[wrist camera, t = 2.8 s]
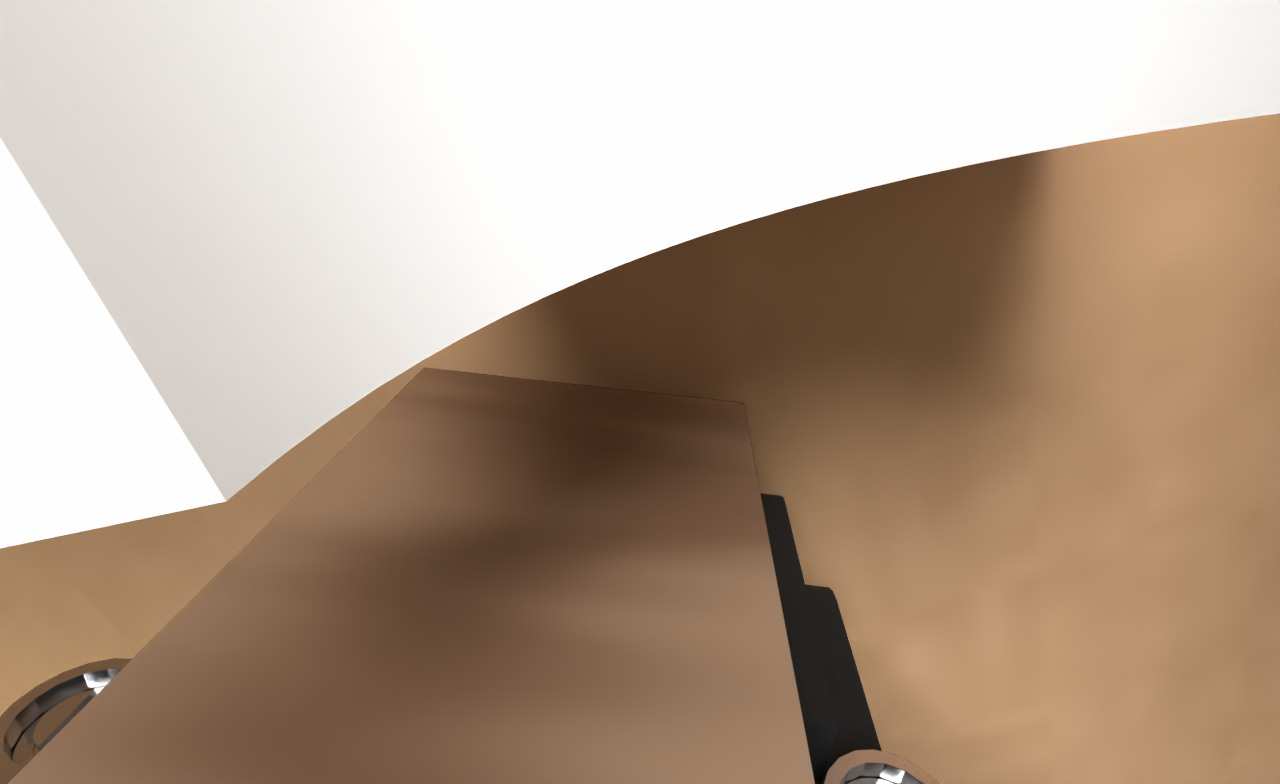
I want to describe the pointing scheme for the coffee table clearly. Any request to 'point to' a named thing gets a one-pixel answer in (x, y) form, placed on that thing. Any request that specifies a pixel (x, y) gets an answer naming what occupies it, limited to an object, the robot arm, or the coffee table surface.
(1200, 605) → the coffee table surface
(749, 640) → the walnut block
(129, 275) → the bracket
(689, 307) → the coffee table surface
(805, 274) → the coffee table surface
